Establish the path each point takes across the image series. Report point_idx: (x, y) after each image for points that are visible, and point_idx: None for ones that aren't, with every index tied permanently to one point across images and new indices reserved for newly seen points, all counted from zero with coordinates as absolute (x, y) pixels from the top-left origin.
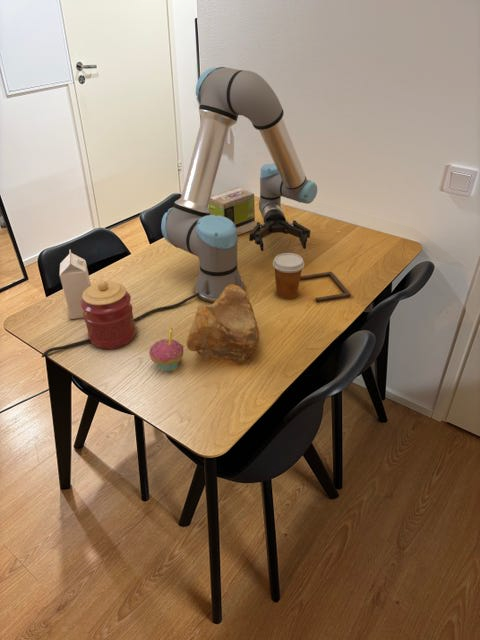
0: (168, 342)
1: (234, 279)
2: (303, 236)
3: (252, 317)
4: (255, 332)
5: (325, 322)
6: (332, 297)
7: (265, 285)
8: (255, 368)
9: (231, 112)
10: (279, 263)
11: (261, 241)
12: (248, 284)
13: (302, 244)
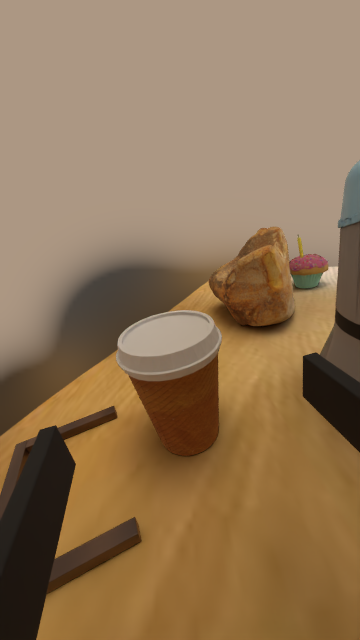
0: (305, 257)
1: (329, 337)
2: (16, 497)
3: (222, 279)
4: (212, 274)
5: (118, 368)
6: (72, 422)
7: (269, 459)
8: (212, 303)
9: None
10: (194, 318)
11: (331, 368)
12: (335, 452)
13: (62, 490)
